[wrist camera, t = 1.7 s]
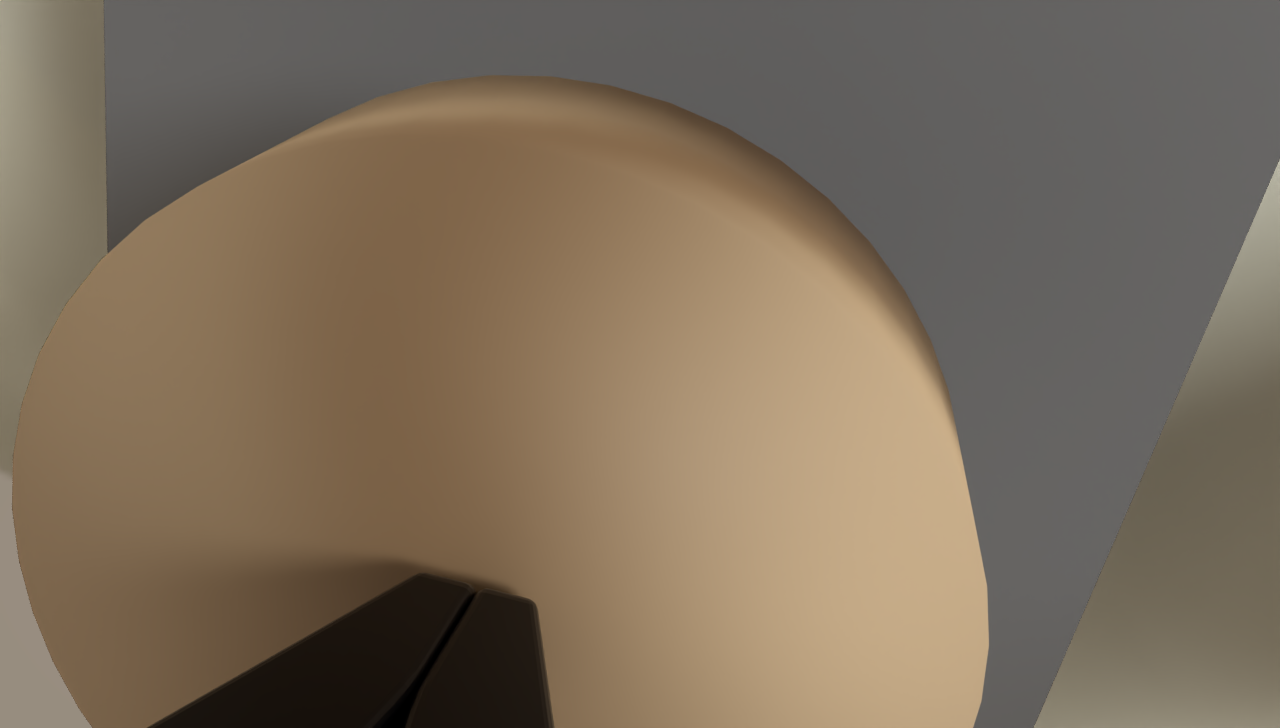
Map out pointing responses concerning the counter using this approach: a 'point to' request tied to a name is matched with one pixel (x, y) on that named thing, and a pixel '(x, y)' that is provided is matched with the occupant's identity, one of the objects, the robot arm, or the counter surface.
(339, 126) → the tan rounded lump
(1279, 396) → the counter surface
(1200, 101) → the gray rectangular block
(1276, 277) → the counter surface
